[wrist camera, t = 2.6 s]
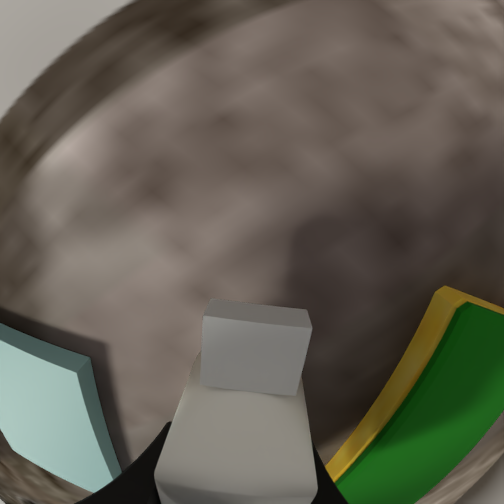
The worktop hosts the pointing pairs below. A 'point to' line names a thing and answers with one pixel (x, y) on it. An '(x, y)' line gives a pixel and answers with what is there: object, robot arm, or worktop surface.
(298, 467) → the white rounded piece
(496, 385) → the dish sponge
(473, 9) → the worktop surface
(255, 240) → the worktop surface
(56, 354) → the teal mat
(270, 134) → the worktop surface
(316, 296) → the worktop surface
